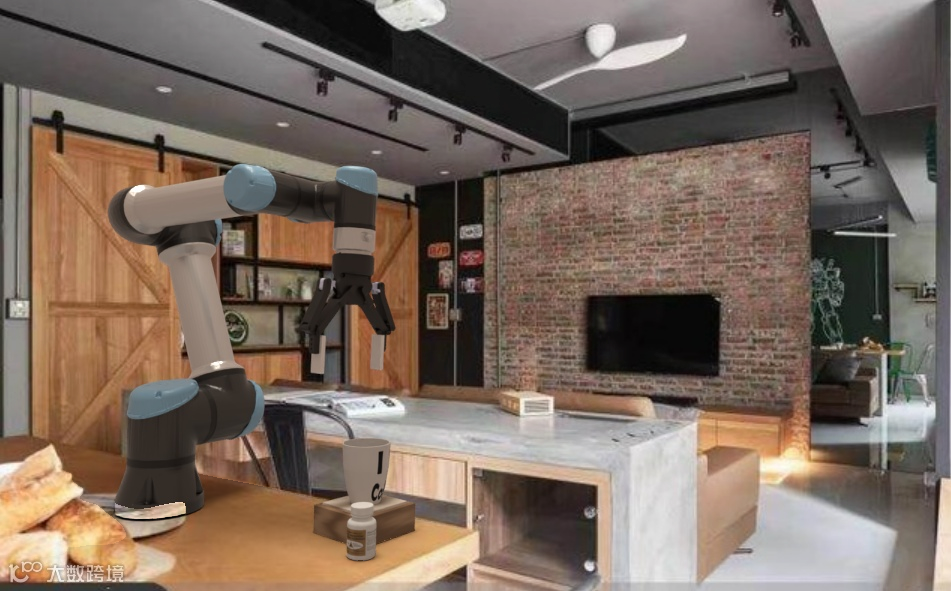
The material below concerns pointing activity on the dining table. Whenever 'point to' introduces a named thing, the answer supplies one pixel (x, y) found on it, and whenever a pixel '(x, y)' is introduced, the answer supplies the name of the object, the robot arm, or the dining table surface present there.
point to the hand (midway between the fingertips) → (348, 371)
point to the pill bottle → (361, 532)
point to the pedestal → (388, 514)
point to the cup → (366, 468)
